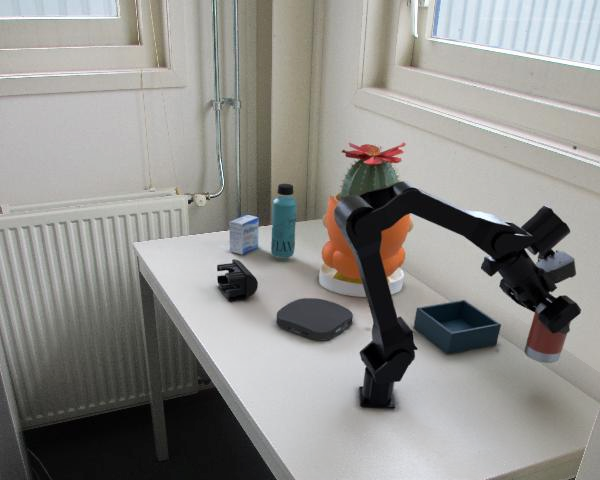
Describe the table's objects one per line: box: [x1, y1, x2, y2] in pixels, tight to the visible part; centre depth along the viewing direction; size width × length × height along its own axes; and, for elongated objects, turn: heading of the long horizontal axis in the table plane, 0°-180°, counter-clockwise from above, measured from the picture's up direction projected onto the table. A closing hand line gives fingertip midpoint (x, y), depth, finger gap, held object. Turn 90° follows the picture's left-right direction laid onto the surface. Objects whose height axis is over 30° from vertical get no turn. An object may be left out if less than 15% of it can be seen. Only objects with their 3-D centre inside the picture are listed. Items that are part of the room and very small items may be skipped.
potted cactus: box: [318, 141, 415, 298], centre depth 162 cm, size 22×22×35 cm
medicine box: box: [228, 214, 260, 256], centre depth 186 cm, size 8×4×9 cm, turn 148°
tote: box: [413, 299, 502, 355], centre depth 150 cm, size 13×13×5 cm
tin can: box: [524, 295, 572, 364], centre depth 129 cm, size 7×7×11 cm
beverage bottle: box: [270, 183, 298, 258], centre depth 179 cm, size 6×7×20 cm
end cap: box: [216, 258, 259, 303], centre depth 162 cm, size 10×7×7 cm
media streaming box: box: [275, 297, 354, 341], centre depth 152 cm, size 15×15×3 cm
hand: (557, 323), depth 129 cm, fingers closed on tin can, 7 cm apart
